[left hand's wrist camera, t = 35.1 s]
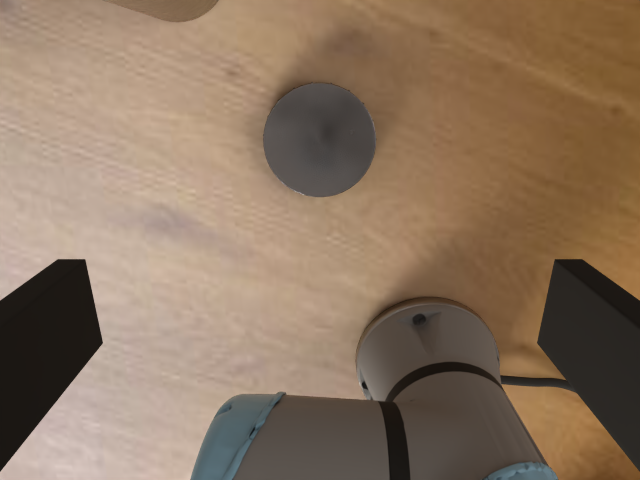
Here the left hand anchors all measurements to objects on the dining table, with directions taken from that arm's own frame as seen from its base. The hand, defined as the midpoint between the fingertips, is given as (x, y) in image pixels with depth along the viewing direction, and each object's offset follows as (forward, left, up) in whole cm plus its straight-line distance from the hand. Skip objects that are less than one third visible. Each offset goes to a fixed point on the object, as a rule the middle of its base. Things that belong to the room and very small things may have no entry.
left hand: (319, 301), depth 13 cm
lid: (0, 0, -28) cm, 29 cm away
